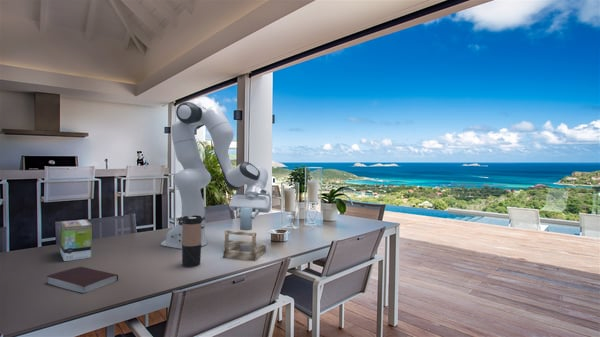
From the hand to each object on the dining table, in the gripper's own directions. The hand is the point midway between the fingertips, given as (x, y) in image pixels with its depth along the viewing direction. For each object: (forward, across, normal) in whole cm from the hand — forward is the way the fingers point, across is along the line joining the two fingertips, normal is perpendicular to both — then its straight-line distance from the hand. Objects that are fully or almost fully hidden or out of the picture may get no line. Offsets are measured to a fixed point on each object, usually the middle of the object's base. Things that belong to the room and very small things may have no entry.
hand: (245, 217), depth 151 cm
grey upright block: (+3, 0, +4) cm, 5 cm away
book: (+46, -42, -21) cm, 65 cm away
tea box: (+29, -70, -4) cm, 76 cm away
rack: (+12, 0, +12) cm, 17 cm away
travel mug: (+26, -16, -1) cm, 31 cm away
